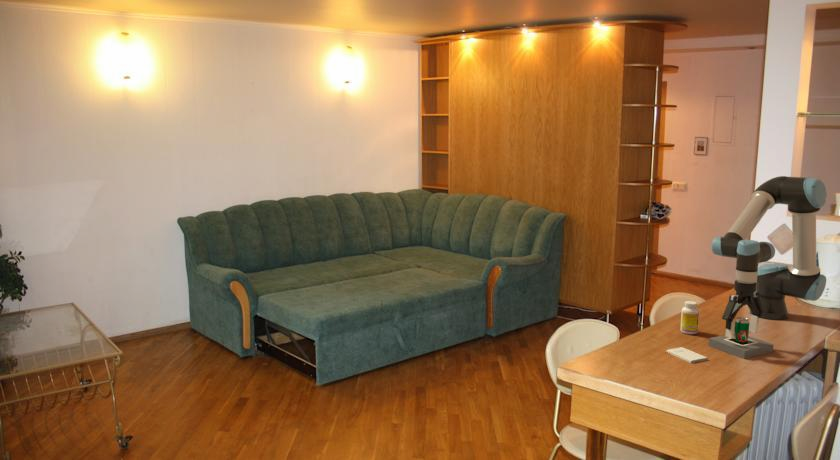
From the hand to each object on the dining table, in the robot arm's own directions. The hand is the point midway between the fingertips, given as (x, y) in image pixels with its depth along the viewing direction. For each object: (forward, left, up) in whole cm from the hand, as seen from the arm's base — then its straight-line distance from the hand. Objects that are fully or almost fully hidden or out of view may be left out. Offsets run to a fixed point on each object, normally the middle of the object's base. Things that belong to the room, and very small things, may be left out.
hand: (741, 334), depth 253 cm
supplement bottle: (+2, -23, -6) cm, 24 cm away
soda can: (0, 0, -6) cm, 6 cm away
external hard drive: (+24, -4, -6) cm, 25 cm away
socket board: (0, 0, -6) cm, 6 cm away
